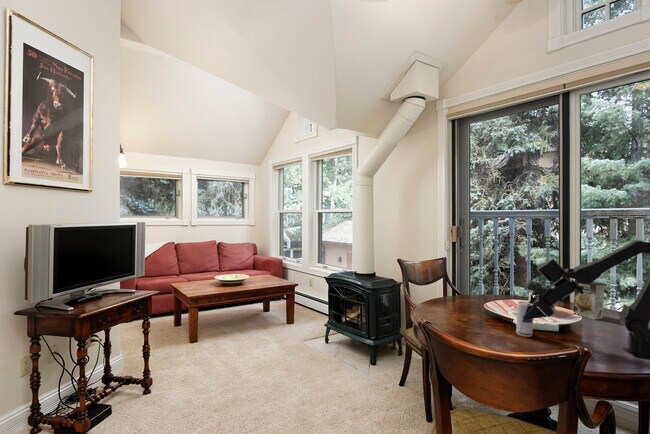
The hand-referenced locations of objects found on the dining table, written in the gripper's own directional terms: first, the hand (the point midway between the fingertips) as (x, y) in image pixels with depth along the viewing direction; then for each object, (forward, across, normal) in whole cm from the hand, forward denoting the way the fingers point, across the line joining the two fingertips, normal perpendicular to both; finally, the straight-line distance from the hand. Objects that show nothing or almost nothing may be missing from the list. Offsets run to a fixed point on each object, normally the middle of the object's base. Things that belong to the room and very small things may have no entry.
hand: (522, 315), depth 129 cm
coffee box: (-14, -42, +25) cm, 51 cm away
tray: (+2, -16, +8) cm, 18 cm away
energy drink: (+5, 0, +6) cm, 8 cm away
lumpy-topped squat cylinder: (-2, -40, +12) cm, 41 cm away
